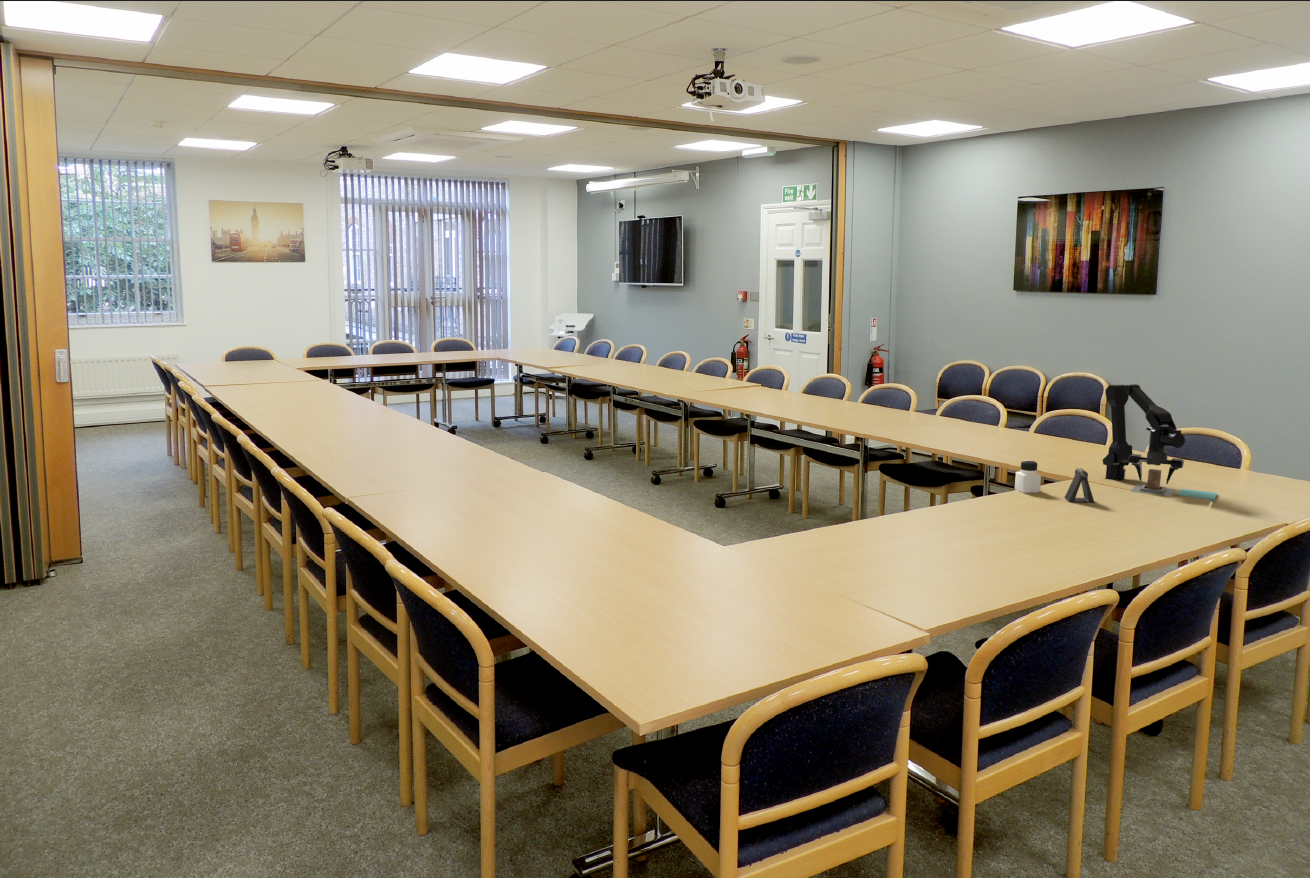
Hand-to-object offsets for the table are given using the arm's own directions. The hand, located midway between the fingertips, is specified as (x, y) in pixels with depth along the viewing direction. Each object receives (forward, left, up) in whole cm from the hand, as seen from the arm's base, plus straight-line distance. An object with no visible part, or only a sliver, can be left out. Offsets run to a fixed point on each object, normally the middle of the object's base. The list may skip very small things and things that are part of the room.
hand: (1153, 482), depth 359 cm
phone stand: (-21, -31, -4) cm, 38 cm away
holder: (0, 0, -4) cm, 4 cm away
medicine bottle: (-41, -26, -4) cm, 49 cm away
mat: (+15, +2, -4) cm, 16 cm away
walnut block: (0, 0, -3) cm, 3 cm away
